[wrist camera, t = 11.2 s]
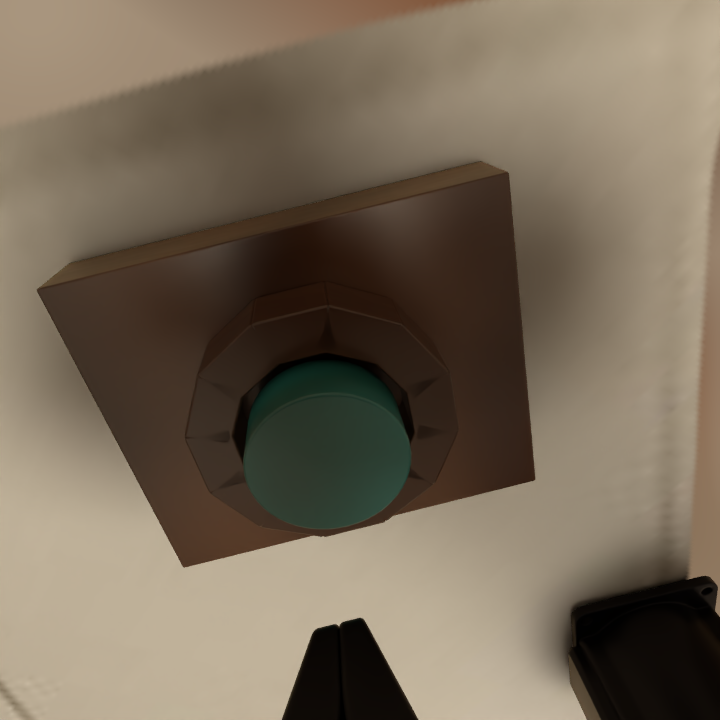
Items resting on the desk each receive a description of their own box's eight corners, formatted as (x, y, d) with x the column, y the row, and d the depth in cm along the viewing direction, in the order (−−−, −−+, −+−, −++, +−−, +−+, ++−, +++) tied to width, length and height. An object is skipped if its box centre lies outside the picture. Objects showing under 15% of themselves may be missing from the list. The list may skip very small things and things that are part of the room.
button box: (481, 160, 15) (539, 182, 12) (512, 442, 20) (559, 519, 16) (67, 263, 15) (0, 317, 12) (193, 521, 20) (172, 615, 16)
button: (383, 341, 14) (395, 374, 12) (411, 465, 15) (424, 508, 14) (227, 380, 14) (219, 418, 12) (273, 500, 15) (271, 546, 14)
